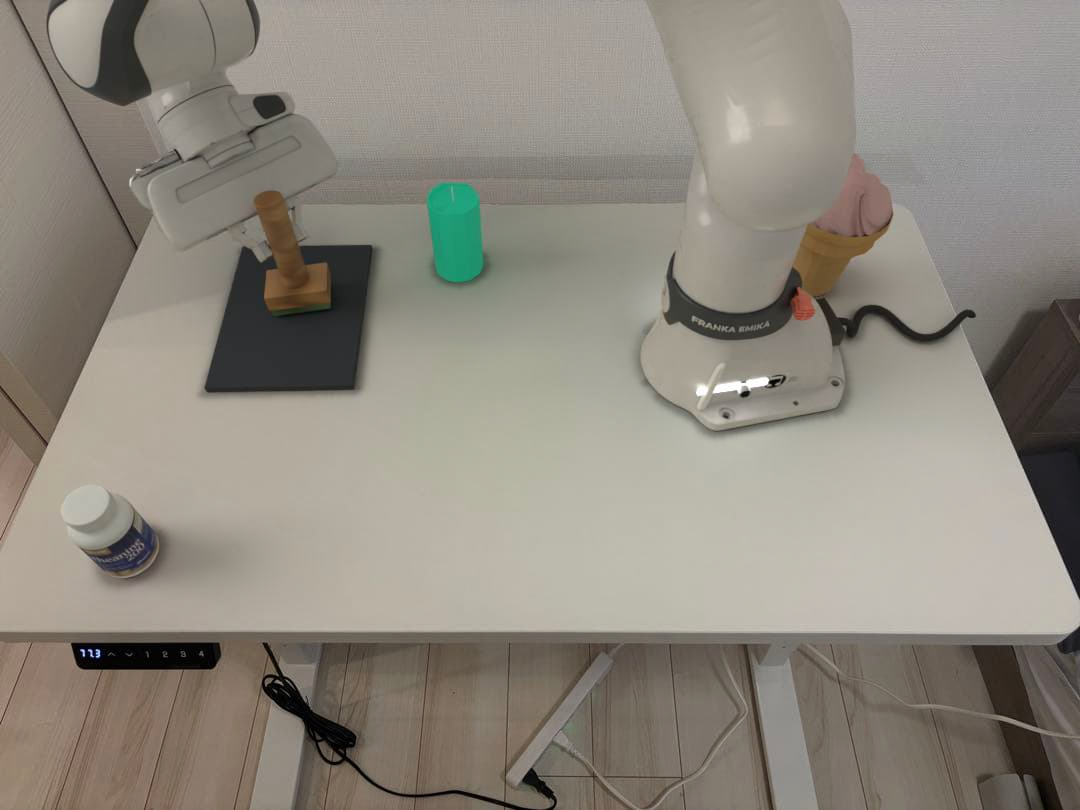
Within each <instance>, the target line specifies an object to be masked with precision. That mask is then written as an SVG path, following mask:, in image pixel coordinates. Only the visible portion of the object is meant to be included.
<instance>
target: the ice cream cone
mask: <svg viewBox="0 0 1080 810" xmlns="http://www.w3.org/2000/svg"><path fill="white" fill-rule="evenodd" d="M893 218H894V208H893V201H892V197H891V193H890V190H889V187H888V186H887V185H885V184H883V183H882V182H881V180H880V178H879V177H878V176H877V175H875V174H873V173H870V172H867V170H866V165H865V161H864V158H862V157H860V156H859V154H857V153H855V152H854V151H853V155H852V159H851V163H850V166H849V170H848V173H847V176H846V179H845V182H844V185H843V188H842V191H841V193H840V195H839V197H838V199H837V200H836V202H835V203H834V204H833V206H832V207H831V208H830V209H829V210H828V211H827V212H826V213H825V214H824V215H822V216H821V217H820V218H818V219H817V220H815V221H813V222H812V223H810V224H808V225H807V228H806V231H805V234H804V236H803V239H802V242H801V244H800V247H799V250H798V252H797V255H796V258H795V261H794V263H793V264H794V268H795V269H796V270H797V271H798V272H799V274H800V276H801V279H802V283H803V285H802V288H801V290H803V291H806V292H807V293H809V294H810V295H811V296H812V297H819V296H823V295H825V294H826V293H828V292H829V291H831V290H832V289H833V288H834V287H835V286H836V285H837V282H838V281H839V279H840V278H841V276H842V275H843V273H844V271H845V270H846V269H847V267H848V265H849V263H850V261H851V260H852V259H854V258H855V257H858V256H862V255H865V254H866V253H868V252H869V251H870V250H871V249H872V248H873V247H874V246H875V242H877V241H878V240H879V239H881V237H883V236H884V235H885V234H886V233H887V232H888V230H889V228H890V226H891V223H892V221H893Z"/></svg>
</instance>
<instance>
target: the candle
mask: <svg viewBox="0 0 1080 810" xmlns="http://www.w3.org/2000/svg"><path fill="white" fill-rule="evenodd" d="M426 205H427V212H428V220H429V227H430V233H431V234H430V235H431V244H432V250H433V258H434V265H435V266H434V267H435V269H436V273H437V275H439V276H440V277H441V278H442V279H444V280H445V281H449V282H453V283H463V282H468V281H472V280H473V279H474V278H477V277H478V276H479V275H480V274H481V272H482V270H483V268H484V264H485V263H484V250H483V249H484V248H483V233H482V220H481V219H482V217H481V201H480V196H479V194H478V192H477V190H475V189H474V188H473V186H471V185H470V184H469V183H466V182H465V183H463V182H440V183H439V184H438V185H435V186H434V187H432V188H431V189H430V190H429V192H428V195H427V196H426Z"/></svg>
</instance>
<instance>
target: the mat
mask: <svg viewBox="0 0 1080 810" xmlns="http://www.w3.org/2000/svg"><path fill="white" fill-rule="evenodd" d="M299 247H300V250H301V253H302V256H303V259H304V263H305V265H311V264H319V263H327V264H328V268H329V271H330V274H331V309H323V310H316V311H309V312H301V313H294V314H287V315H279V316H273V314H272V311H269V310H268V307H267V304H266V302H265V299H264V294H265V283H266V271H267V270H273V269H278V268H277V265H276V263H275V260H274V257H273V256H272V257H270V258H269V259H267V260H265V261H263V262H260V261H259V260H258V259H257V257H256V256H255V254H254V252H253V251H252V249H249V248H247V247H245V246H244V245H242V247H241V250H240V254H239V258H238V262H237V265H236V269H235V272H234V277H233V280H232V282H231V283H232V284H231V288H230V291H229V295H228V299H227V303H226V306H225V309H224V313H223V316H222V321H221V326H220V328H219V331H218V336H217V340H216V344H215V347H214V351H213V355H212V358H211V362H210V366H209V369H208V372H207V377H206V381H205V384H204V390H205V392H207V393H226V392H228V393H229V392H231V393H233V392H283V391H284V392H285V391H287V392H288V391H289V392H291V391H339V390H342V391H344V390H346V391H347V390H355V383H356V376H357V369H358V361H359V355H360V353H359V352H360V345H361V338H362V330H363V323H364V316H365V315H364V314H365V309H366V301H367V293H368V284H369V278H370V271H371V263H372V255H373V246H372V244H338V245H337V244H335V245H334V244H332V245H331V244H329V245H326V244H324V245H321V244H320V245H299ZM269 249H270V246H269Z"/></svg>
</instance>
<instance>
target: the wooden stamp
mask: <svg viewBox="0 0 1080 810" xmlns="http://www.w3.org/2000/svg"><path fill="white" fill-rule="evenodd" d="M254 205H255V208H256V210H257V213H258V215H257V216H258V218H259V222H260V224H261V226H262V229H263V233H264V235H265V238H266V242H267V243H268V245H269V246H270V249H271V250H272V251H273V253H274V256H273V257H274V260H275V263H276V265H277V268H278V269H273V270H267V271H266V283H265V294H264V299H265V302H266V304H267V307H268V310H269V311H272V314H273V316H279V315H287V314H294V313H301V312H309V311H316V310H323V309H331V274H330V271H329V268H328V264H327V263H319V264H311V265H305V263H304V259H303V256H302V253H301V250H300V247H299V246H300V244H299V243H298V241H297V238H296V235H295V232H294V229H293V226H292V219H291V217H290V213H289V211H287V208H286V205H285V202H284V199H283V195H282V194H281V193H280V192H278V191H274V190H269V191H264V192H262V193H260V194H258V195H257V196H256V197H255V198H254Z"/></svg>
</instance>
